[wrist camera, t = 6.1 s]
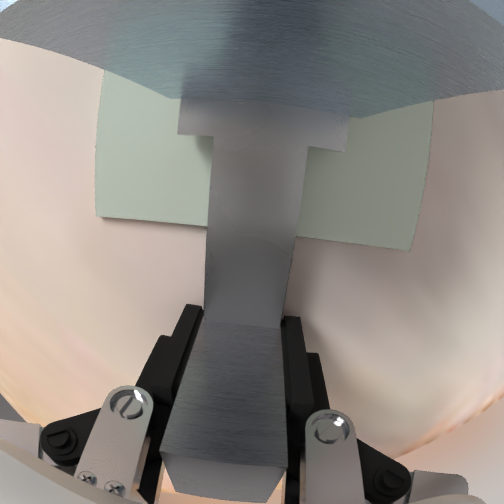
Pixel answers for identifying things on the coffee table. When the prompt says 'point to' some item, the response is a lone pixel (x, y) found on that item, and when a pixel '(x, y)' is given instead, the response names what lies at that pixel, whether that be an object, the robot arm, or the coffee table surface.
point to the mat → (315, 179)
